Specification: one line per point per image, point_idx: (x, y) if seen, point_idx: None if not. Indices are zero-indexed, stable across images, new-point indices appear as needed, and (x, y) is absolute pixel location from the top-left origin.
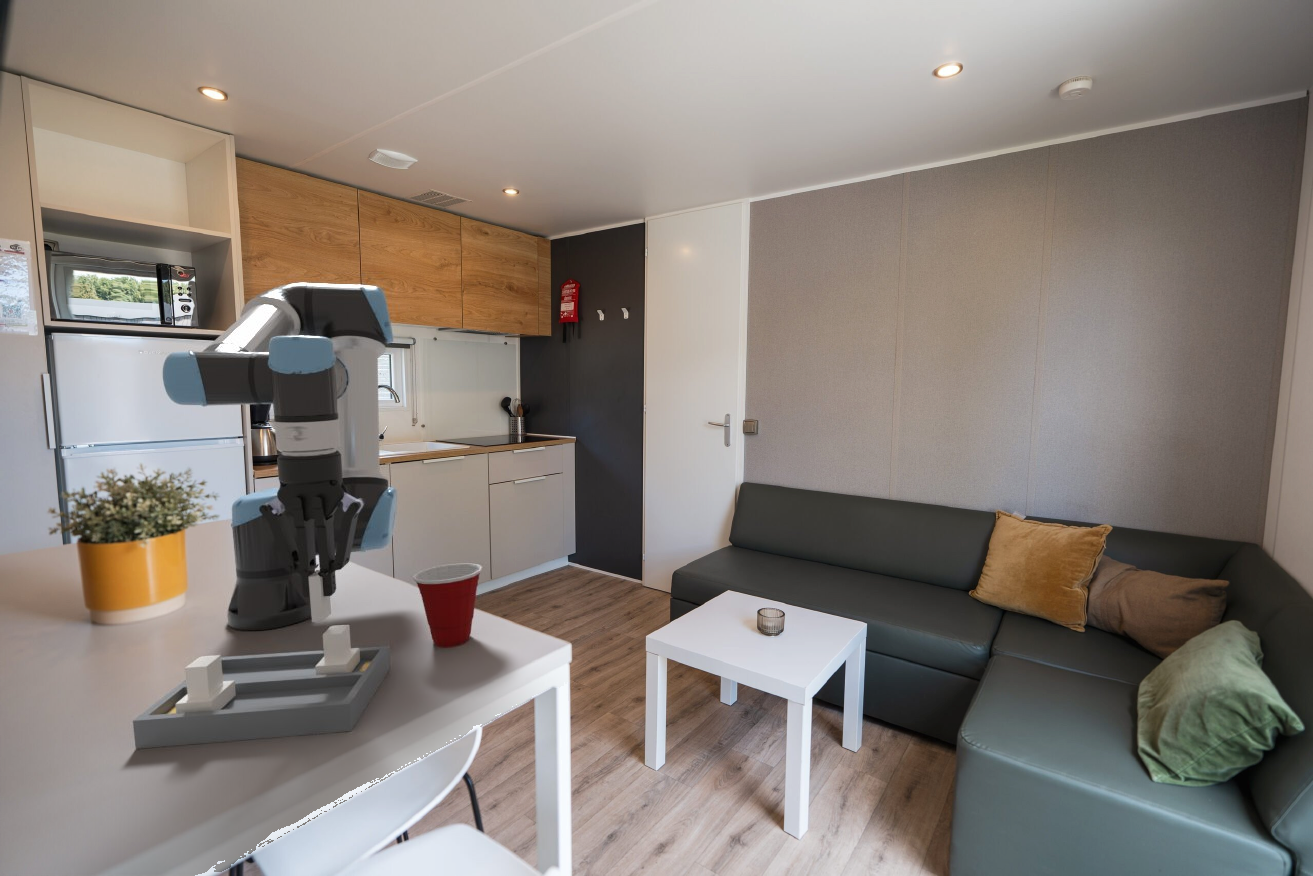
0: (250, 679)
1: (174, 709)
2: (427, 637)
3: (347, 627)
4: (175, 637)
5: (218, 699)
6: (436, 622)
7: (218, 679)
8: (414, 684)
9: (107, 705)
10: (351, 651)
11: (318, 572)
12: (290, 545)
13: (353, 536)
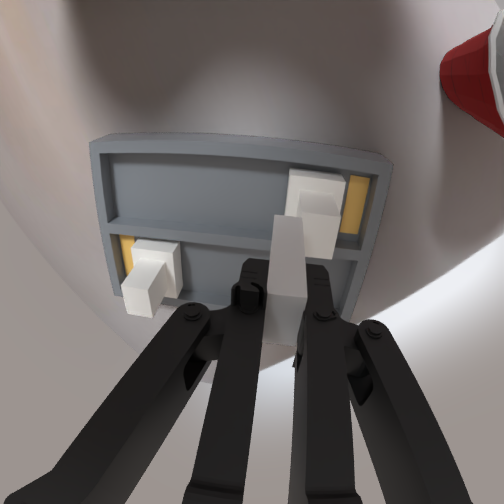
0: (186, 232)
1: (125, 253)
2: (426, 46)
3: (338, 226)
4: (10, 12)
5: (177, 283)
6: (473, 115)
7: (161, 278)
8: (414, 218)
9: (39, 181)
10: (333, 195)
11: (293, 364)
12: (172, 408)
13: (430, 418)
